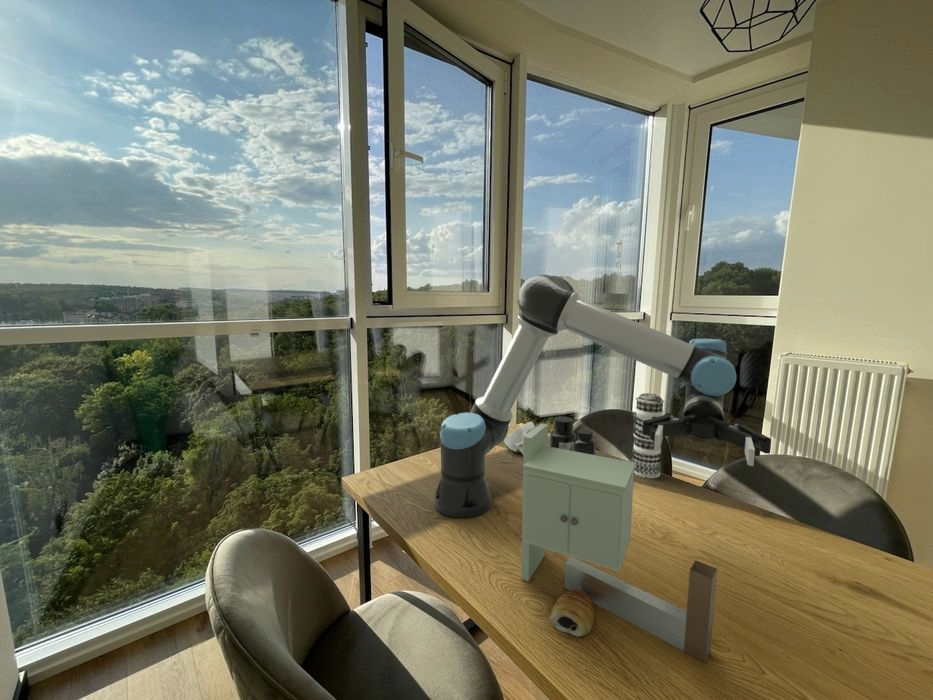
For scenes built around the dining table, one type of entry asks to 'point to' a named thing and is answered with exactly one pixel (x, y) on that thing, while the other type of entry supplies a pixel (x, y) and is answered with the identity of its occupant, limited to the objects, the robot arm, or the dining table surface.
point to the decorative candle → (646, 436)
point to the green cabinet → (574, 505)
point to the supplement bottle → (584, 442)
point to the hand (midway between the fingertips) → (701, 449)
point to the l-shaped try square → (654, 605)
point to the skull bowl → (518, 437)
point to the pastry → (573, 613)
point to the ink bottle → (563, 434)
